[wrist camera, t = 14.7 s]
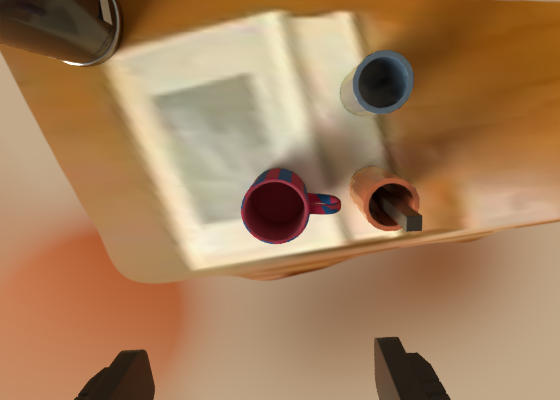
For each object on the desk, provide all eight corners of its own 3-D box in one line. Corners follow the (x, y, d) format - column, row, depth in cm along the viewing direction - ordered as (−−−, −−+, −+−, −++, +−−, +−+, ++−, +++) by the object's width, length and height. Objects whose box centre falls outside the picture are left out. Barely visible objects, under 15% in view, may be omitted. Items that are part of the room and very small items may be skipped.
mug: (252, 165, 36) (243, 174, 30) (338, 173, 36) (348, 184, 29) (249, 220, 38) (239, 240, 31) (331, 228, 37) (339, 250, 31)
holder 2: (340, 189, 36) (352, 207, 29) (370, 157, 35) (391, 166, 27) (371, 216, 37) (391, 241, 29) (402, 185, 36) (431, 202, 28)
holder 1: (330, 95, 34) (340, 86, 26) (362, 57, 33) (383, 36, 25) (363, 125, 34) (383, 126, 27) (396, 89, 33) (426, 78, 26)
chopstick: (367, 193, 36) (405, 231, 23) (366, 183, 35) (405, 216, 23) (377, 193, 36) (422, 231, 23) (377, 183, 35) (422, 215, 23)
